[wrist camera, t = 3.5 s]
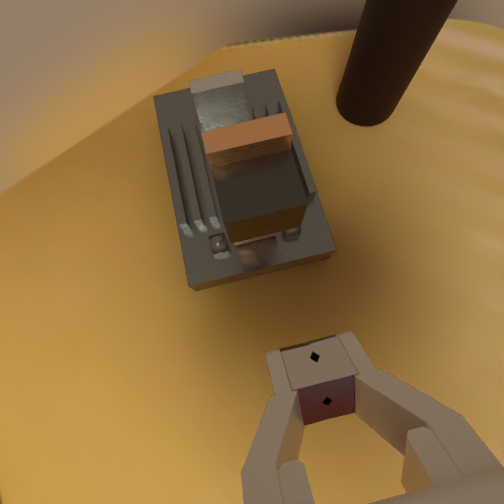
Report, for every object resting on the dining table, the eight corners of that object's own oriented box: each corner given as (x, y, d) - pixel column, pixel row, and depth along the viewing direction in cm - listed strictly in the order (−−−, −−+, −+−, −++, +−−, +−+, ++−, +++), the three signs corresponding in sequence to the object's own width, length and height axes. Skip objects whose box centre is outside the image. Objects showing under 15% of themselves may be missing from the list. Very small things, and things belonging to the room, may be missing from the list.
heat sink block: (329, 257, 30) (346, 237, 24) (195, 291, 30) (178, 279, 23) (273, 89, 36) (276, 38, 30) (162, 115, 36) (140, 69, 29)
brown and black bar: (286, 268, 27) (312, 192, 12) (243, 278, 26) (220, 214, 12) (274, 225, 28) (285, 112, 14) (232, 236, 28) (200, 132, 13)
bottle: (404, 114, 34) (582, -164, 15) (353, 136, 34) (471, -124, 15) (374, 73, 36) (499, -223, 17) (325, 93, 36) (397, -189, 16)
